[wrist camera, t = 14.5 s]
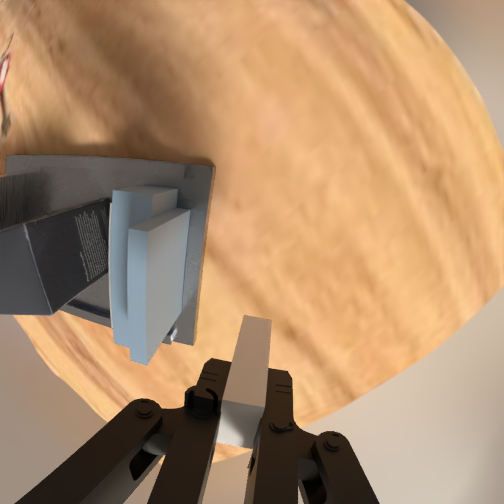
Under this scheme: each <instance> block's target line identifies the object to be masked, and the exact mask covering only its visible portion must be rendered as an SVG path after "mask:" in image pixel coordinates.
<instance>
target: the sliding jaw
mask: <svg viewBox="0 0 504 504" xmlns="http://www.w3.org/2000/svg"><path fill="white" fill-rule="evenodd" d="M177 198H178V189H176V188H169V187H161V186H153V185H145V184H144V185H138V186H132V187H127V188H121V189H116V190H113V196H112V203H110V217H109V297H110V314H111V327H112V329H113V333H114V343H116V344H119V345H122V346H125V347H128V348H130V357H131V361H134V362H137V363H140V364H143V365H148V363H149V361H150V360H151V358H152V357H153V355H154V354H155V352H156V350H157V349H158V347H159V346H160V344H161V342H162V341H163V339H164V338H165V336H166V335H167V333H168V332H169V330H170V328H171V327H172V325H173V324H174V322H175V321H176V319H177V318H178V316H179V315H180V313H181V310H182V295H183V282H184V270H185V259H186V248H187V238H188V229H189V220H190V211H191V210H189V209H182V208H176V206H177Z"/></svg>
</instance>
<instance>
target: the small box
mask: <svg viewBox="0 0 504 504" xmlns="http://www.w3.org/2000/svg"><path fill="white" fill-rule="evenodd" d="M109 217H110V207H109V202H108V199H107V198H102V199H98V200H94V201H90V202H86V203H83V204H79V205H75V206H72V207H68V208H64V209H61V210H57V211H54V212H50V213H48V214H45V215H42V216H39V217H36V218H33V219H30V220H27V221H24V222H21V223H18V224H15V225H13V226H10V227H7V228H5V229H2V230H0V314H2V315H3V314H4V315H5V314H6V315H46V316H50V315H53V314H54V313H55V312H56V311H58V310H59V309H60V308H62V307H63V306H64V305H65V304H67V303H68V302H69V301H71V300H72V299H73V298H75V297H76V296H77V295H79V294H80V293H81V292H83V291H84V290H85V289H87V288H88V287H89V286H91V285H92V284H93V283H95V282H96V281H98V280H99V279H100V278H102V277H103V276H105V275H106V274H107V273H109Z"/></svg>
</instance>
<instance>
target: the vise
mask: <svg viewBox="0 0 504 504" xmlns="http://www.w3.org/2000/svg"><path fill="white" fill-rule="evenodd" d="M215 171H216V167H210V166H202V165H194V164H186V163H177V162H167V161H157V160H146V159H134V158H120V157H104V156H83V155H7V157H6V171H5V174H0V230H2V229H5V228H7V227H10V226H13V225H15V224H18V223H21V222H24V221H27V220H30V219H33V218H36V217H39V216H42V215H45V214H48V213H50V212H54V211H57V210H61V209H64V208H68V207H72V206H75V205H79V204H83V203H86V202H90V201H94V200H98V199H102V198H107V199H108V202H109V207H110V203H112V196H113V190H116V189H121V188H127V187H132V186H138V185H144V184H145V185H153V186H161V187H169V188H176V189H178V198H177V206H176V208H182V209H189V210H191V211H190V220H189V229H188V238H187V248H186V259H185V270H184V282H183V295H182V310H181V313H180V315H179V316H178V318H177V319H176V321H175V322H174V324H173V325H172V327H171V328H170V330H169V332H168V333H167V335H166V336H165V338H164V339H163V341H162V343H165V344H169V345H171V343H172V341H175V342H179V343H183V344H187V345H191V346H193V345H194V343H195V341H196V333H197V321H198V310H199V300H200V290H201V280H202V271H203V262H204V253H205V245H206V237H207V229H208V221H209V213H210V206H211V199H212V192H213V185H214V178H215ZM59 310H62V311H64V312H67V313H70V314H72V315H75V316H78V317H81V318H83V319H86V320H89V321H92V322H95V323H98V324H101V325H104V326H107V327H110V328H112V327H111V314H110V297H109V273H107V274H106V275H105V276H103V277H102V278H100V279H99V280H98V281H96V282H95V283H93V284H92V285H91V286H89V287H88V288H87V289H85V290H84V291H83V292H81V293H80V294H79V295H77V296H76V297H75V298H73V299H72V300H71V301H69V302H68V303H67V304H65V305H64V306H63V307H62V308H60V309H59Z"/></svg>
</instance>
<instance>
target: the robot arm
mask: <svg viewBox="0 0 504 504" xmlns="http://www.w3.org/2000/svg"><path fill="white" fill-rule="evenodd" d="M271 322H272V320H269V319H263V318H258V317H252V316H247V315H244V317H243V321H242V325H241V329H240V333H239V336H238V340H237V344H236V348H235V352H234V356H233V360H232V362H228V361H223V360H219V359H214V358H211V359H210V360H209V361H207V362H206V363H205V364H204V367H203V369H202V372H201V374H200V377H199V380H198V382H197V385H196V386H192V387H190V388H188V389H187V391H186V392H185V402H184V406H183V407H181V408H176V409H162V408H161V407H160V405H159V404H158V403H156V402H155V401H153V400H150V399H143V398H141V399H136V400H134V401H132V402H130V403H129V404H128V405H127V406H126V407H125V408H124V409H123V410H122V411H120V412H119V413H118V414H117V415H116V416H115V417H114V418H113V419H112V420H111V421H109V422H108V423H107V424H106V425H105V426H104V427H103V428H102V429H101V430H100V431H98V432H97V433H96V434H95V435H94V436H93V437H92V438H91V439H90V440H88V441H87V442H86V443H85V444H84V445H83V446H82V447H80V448H79V449H78V450H77V451H76V452H75V453H74V454H73V455H71V456H70V457H69V458H68V459H67V460H66V461H65V462H63V463H62V464H61V465H60V466H59V467H58V468H56V469H55V470H54V471H53V472H52V473H51V474H50V475H48V476H47V477H46V478H45V479H44V480H42V481H41V482H40V483H39V484H38V485H37V486H35V487H34V488H33V489H32V490H31V491H29V492H28V493H27V494H26V495H25V496H23V497H22V498H21V499H20V500H18V501H17V502H16V503H15V504H123V503H124V502H125V501H126V499H127V498H128V497H129V496H130V495H131V494H132V493H133V491H134V490H135V489H136V488H137V486H138V485H139V484H140V483H141V482H142V481H143V480H144V478H145V477H146V476H147V475H148V474H149V472H150V471H151V470H152V469H153V467H154V466H155V465H156V464H157V463H158V461H159V460H160V459H161V458H162V457H163V455H166V456H165V458H164V461H163V464H162V466H161V469H160V472H159V474H158V477H157V479H156V482H155V484H154V487H153V490H152V492H151V495H150V497H149V500H148V503H147V504H202V500H203V496H204V492H205V488H206V484H207V479H208V475H209V472H210V468H211V463H212V459H213V455H214V450H215V445H216V442H217V443H222V444H227V445H232V446H238V447H244V448H250V449H252V448H253V452H252V455H251V458H250V462H249V464H248V467H247V468H249V472H248V479H247V486H246V494H245V500H244V504H298V486H299V489H300V492H301V496H302V499H303V502H304V504H379V502H378V499H377V498H376V495H375V493H374V491H373V489H372V487H371V485H370V483H369V481H368V479H367V477H366V475H365V473H364V471H363V469H362V467H361V465H360V463H359V461H358V459H357V457H356V455H355V453H354V451H353V449H352V447H351V445H350V443H349V441H348V440H347V438H346V437H345V436H343V435H342V434H340V433H338V432H334V431H326V432H323V433H321V434H320V435H318V436H317V435H314V434H311V433H308V432H306V431H303V430H302V429H300V428H299V427H298V426H297V425H296V423H295V421H294V418H293V388H292V387H293V386H292V377H291V376H290V374H289V373H288V371H284V370H277V369H271V368H268V364H269V351H270V337H271Z"/></svg>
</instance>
